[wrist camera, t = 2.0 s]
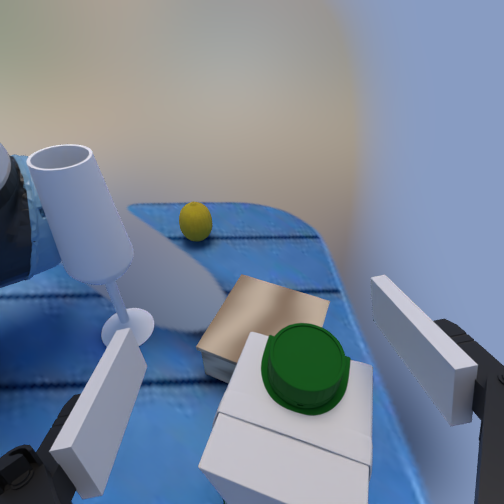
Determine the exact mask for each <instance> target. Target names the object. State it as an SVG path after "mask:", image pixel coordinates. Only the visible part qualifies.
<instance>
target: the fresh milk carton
mask: <svg viewBox="0 0 504 504" xmlns="http://www.w3.org/2000/svg"><path fill="white" fill-rule="evenodd" d="M372 410H373V367H372V366H371V365H368V364H365V363H361V362H357V361H353V360H351V359H350V357H347V356H345V354H344V351H343V348H342V346H341V344H340V343H339V341H338V340H337V339H336V338H335V337H334V336H333V335H332V334H331V333H330V332H329V331H327V330H326V329H324V328H322V327H320V326H317V325H314V324H309V323H295V324H291V325H288V326H286V327H284V328H283V329H281V330H280V331H279V332H278V333H277V334H276V335H275V336H273V335H269V336H266V335H263V334H259V333H256V332H250V334H249V336H248V339H247V341H246V343H245V346H244V348H243V351H242V353H241V355H240V358H239V360H238V362H237V365H236V367H235V370H234V372H233V375H232V377H231V379H230V382H229V384H228V387H227V389H226V391H225V393H224V396H223V398H222V400H221V402H220V405H219V407H218V410H217V412H216V415H215V418H214V421H213V426H212V432H211V435H210V437H209V440H208V442H207V445H206V447H205V450H204V452H203V455H202V458H201V460H200V463H199V466H198V467H199V469H200V470H201V471H202V472H203V474H204V475H205V476H206V477H207V479H208V480H209V481H210V482H211V484H212V485H213V486H214V487H215V489H216V490H217V491H218V493H219V494H220V495H221V496H222V498H223V501H224V504H368V483H369V481H370V478H371V472H372V449H373V447H372Z"/></svg>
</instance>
